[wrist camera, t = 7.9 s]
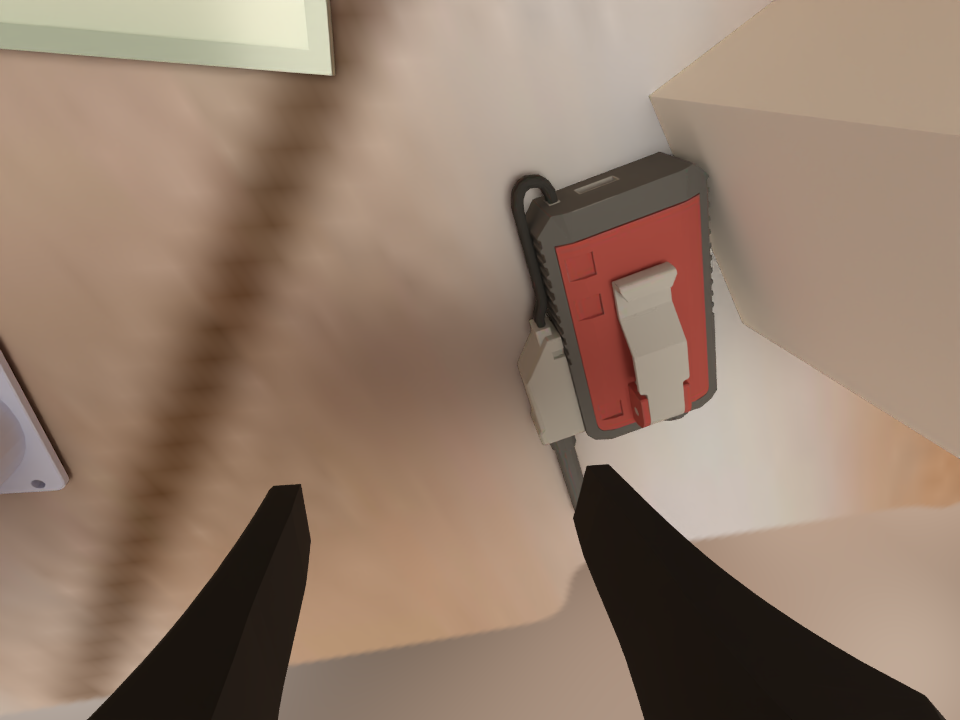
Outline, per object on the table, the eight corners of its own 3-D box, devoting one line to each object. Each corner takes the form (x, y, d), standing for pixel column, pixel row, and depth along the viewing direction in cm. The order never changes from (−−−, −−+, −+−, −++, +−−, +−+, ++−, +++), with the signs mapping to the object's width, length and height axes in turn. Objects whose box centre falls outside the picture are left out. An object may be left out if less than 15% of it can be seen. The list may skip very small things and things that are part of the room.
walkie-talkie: (454, 193, 18) (562, 508, 29) (470, 226, 14) (587, 573, 25) (671, 110, 18) (697, 460, 29) (746, 123, 14) (743, 519, 25)
